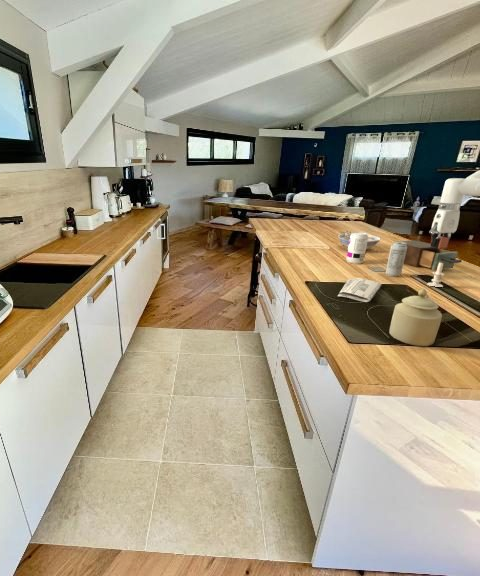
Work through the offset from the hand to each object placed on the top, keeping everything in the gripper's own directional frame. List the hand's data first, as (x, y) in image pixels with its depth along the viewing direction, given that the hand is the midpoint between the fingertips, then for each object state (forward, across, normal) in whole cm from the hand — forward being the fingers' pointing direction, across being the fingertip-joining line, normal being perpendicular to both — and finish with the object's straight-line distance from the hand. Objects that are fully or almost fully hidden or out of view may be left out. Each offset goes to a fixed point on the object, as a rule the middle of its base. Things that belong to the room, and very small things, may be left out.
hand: (438, 246), depth 148 cm
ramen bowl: (+11, -7, +43) cm, 45 cm away
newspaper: (+11, -56, -15) cm, 59 cm away
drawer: (+10, 0, -1) cm, 10 cm away
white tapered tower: (+11, -22, -19) cm, 31 cm away
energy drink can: (+11, -27, -3) cm, 29 cm away
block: (0, 0, 0) cm, 0 cm away
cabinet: (+11, 0, +11) cm, 15 cm away
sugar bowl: (+11, -67, -48) cm, 83 cm away
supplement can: (+11, -28, +20) cm, 36 cm away
